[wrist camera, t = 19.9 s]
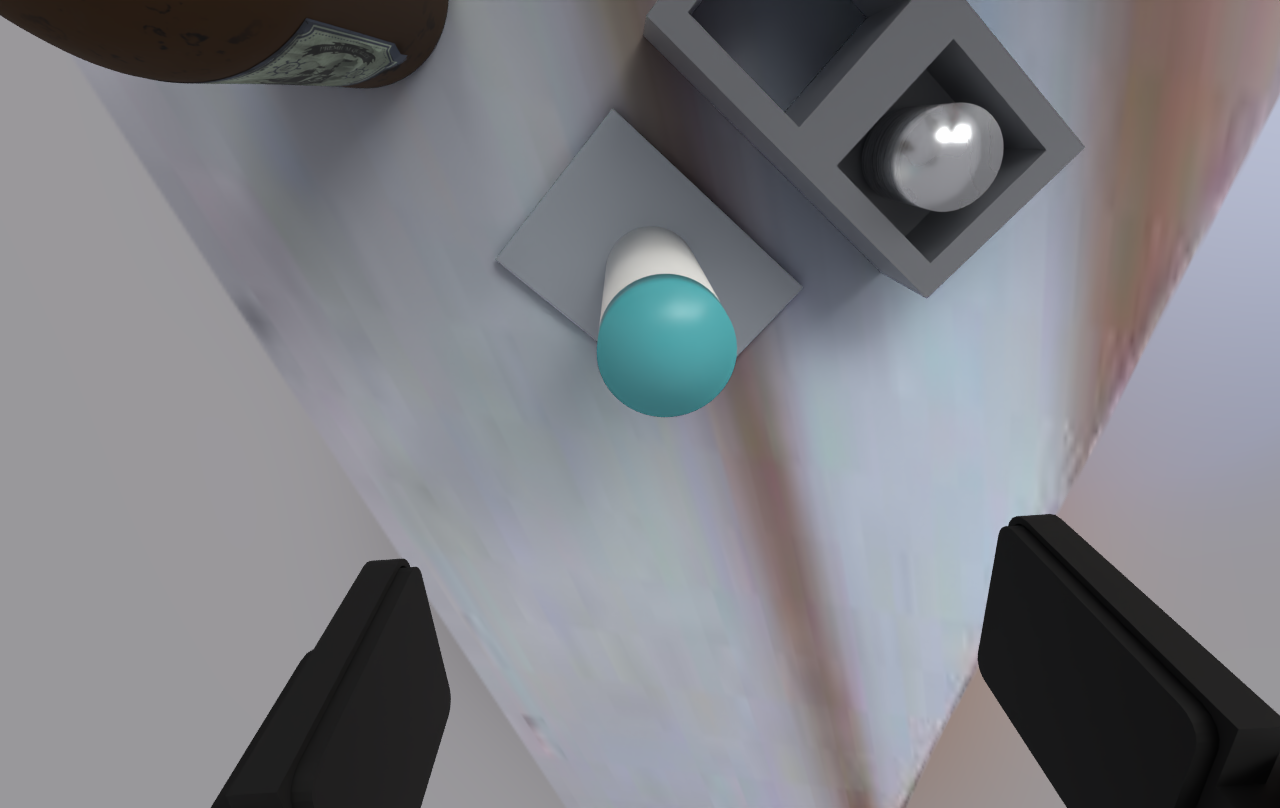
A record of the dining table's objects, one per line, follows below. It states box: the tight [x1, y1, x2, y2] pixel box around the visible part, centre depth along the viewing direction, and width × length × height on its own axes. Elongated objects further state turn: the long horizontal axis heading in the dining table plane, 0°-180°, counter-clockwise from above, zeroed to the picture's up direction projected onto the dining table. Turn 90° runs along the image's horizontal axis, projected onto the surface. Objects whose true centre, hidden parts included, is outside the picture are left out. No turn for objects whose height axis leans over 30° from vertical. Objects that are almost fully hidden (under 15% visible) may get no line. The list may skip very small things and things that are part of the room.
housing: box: [643, 0, 1085, 298], centre depth 30 cm, size 18×9×6 cm, turn 49°
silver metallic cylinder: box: [862, 103, 1004, 212], centre depth 30 cm, size 4×4×5 cm
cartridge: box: [597, 226, 737, 417], centre depth 30 cm, size 5×5×14 cm
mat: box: [495, 108, 803, 356], centre depth 36 cm, size 14×10×1 cm
